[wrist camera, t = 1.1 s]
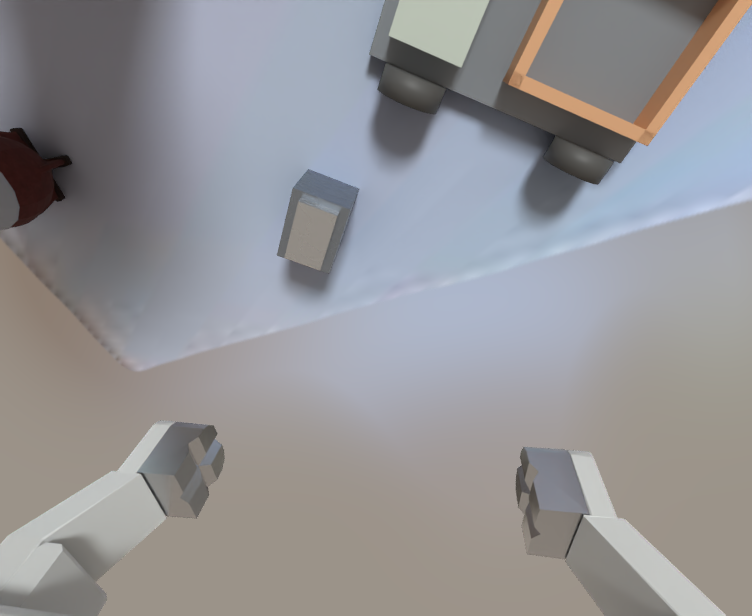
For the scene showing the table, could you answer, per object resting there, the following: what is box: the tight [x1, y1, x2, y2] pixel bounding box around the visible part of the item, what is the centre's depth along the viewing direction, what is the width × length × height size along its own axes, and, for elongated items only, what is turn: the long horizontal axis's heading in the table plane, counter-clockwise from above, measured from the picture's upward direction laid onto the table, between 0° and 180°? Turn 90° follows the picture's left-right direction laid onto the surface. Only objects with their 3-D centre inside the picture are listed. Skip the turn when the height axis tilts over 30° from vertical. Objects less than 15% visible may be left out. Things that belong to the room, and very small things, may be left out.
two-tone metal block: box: [277, 169, 359, 274], centre depth 33 cm, size 4×6×6 cm
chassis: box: [369, 0, 752, 184], centre depth 24 cm, size 20×16×4 cm
